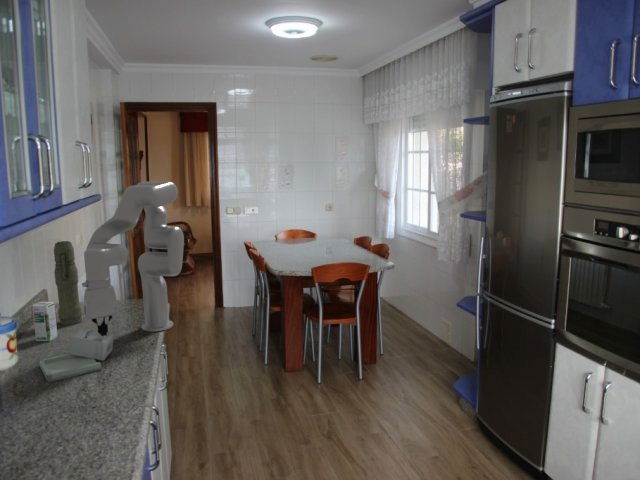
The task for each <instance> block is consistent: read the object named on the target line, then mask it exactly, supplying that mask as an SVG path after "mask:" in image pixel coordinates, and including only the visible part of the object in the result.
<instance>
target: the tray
mask: <svg viewBox="0 0 640 480" xmlns="http://www.w3.org/2000/svg"><path fill="white" fill-rule="evenodd" d="M38 364H39V368H40V370H41V372H42V374H43V376H44V377H45V379H46V381H47V383H49V384H50V383H53V382H58V381H60V380H65V379H69V378H72V377H76V376H77V377H78V376H81V375H85V374H89V373H93V372H96V371H101V370H102V364H101V362H100V361H99V362H97V360H96V359H92V358H87V357H82V356H77V355H72V354H69V353H65V354H61V355H57V356H53V357H47V358H42V359H39V360H38Z"/></svg>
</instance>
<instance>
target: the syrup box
mask: <svg viewBox="0 0 640 480" xmlns="http://www.w3.org/2000/svg"><path fill="white" fill-rule="evenodd" d="M55 307H56V306H55V301H39V302H36V303H34V304H33V305H32V315H33V323H34V332H35V333H34V334H35V342H51V341H53V340H54V339H56V338H57V337H58V327H57V326H58V325H57V317H56V310H55V309H56V308H55Z"/></svg>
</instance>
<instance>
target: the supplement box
mask: <svg viewBox="0 0 640 480" xmlns="http://www.w3.org/2000/svg"><path fill="white" fill-rule="evenodd" d="M113 345H114V333H113V332H109V331H108V332H107V335H106V336H105V335H104V336H101V335H100V334H99V333H98V329H92V328H88V327H84V326H78V327H77V328H76V329H75V330H74V331H73V332H72V333H71V334H70V335H69V338H68V354H72V355H77V356H82V357H87V358H92V359H95V360H96V361H97V360H98V361H105V359H106V358H107V357H108V356H109V355H110V354H111V353H112V351H113Z"/></svg>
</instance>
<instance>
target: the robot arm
mask: <svg viewBox="0 0 640 480" xmlns="http://www.w3.org/2000/svg"><path fill="white" fill-rule="evenodd" d="M178 194H179V190H178V187H177V186H176V184H175V183H174V182H172V181H153V180H152V181H141V182H138V183H137V184H136V185H135V184H134V185H129V186H127V187H126V188H125V190H124V192H123V194H122V196H121V199H120V201H119V202H118V205H117V208H116V210H115V211H114V214H113V216H111V218H109V219H108V220H106V221H105V222H103V224H101V225H100V226H98V228H97V229H95V231H94V232H93V234H91V237H90V239H89V241H88V244H87V246H86V249H85V251H84V252H83V259H84V261H83V262H84V268H85V269H84V270H85V278H86V279H85V282H82V283H81V286H82V288H83V287H85V289H84V296H83V297H84V299H83V300H84V301H83V304H84V305H83V307H84V315H85V316H84V321H85V322H87V323H88V322H89V323H90V322H91V323H92V322H93V324H94V323H95V324H96V326H97V330H98V333H99V334H100V335H101V336H104V335H105V336H106V335H107V332H109V327H108V325H109V322H110V321H111V320H112V319H113V318H116V317H118V316H119V313H118V312H119V307H118V300H117V293H116V291H115V287H114V286H113V285H111V283H112V281H111V275H110V273H111V271H110V267H113V266H120V265H122V264H125V262H126V261H127V260H128V258H129V250H128V248H127V247H126V246H125V245H123V244H120V243H110V242H109V241H110V240H112V239H113V238H114V237H117V236H119V235H120V234H123V233H125V232H128V231H130V230H132V229H134V228H135V227H136V226H137V224H138V222H139V220H140V219H139V218H140V216H141V214H142V211H143V210H144V213H145V218H144V219H145V220H144V221H145V222H144V233H143V234H144V235H143V236H144V237H143V238H144V239H143V241H144V242H143V243H144V245H145V246H146V247H147V248H149V249H157V250H158V249H159V250H167V252H164V251H162V252H161V251H148V252H144V253H142V254H141V255H140V256H139V258H138V260H137V268H138V271H139V274H140V277H141V278H140V279H141V286H142V288H141V289H142V298H143V310H144V311H143V314H144V323H142V324H141V330H142V331H144V332H154V333H155V332H163V331H166V330H169V329H171V328H172V327H174V321H172V320H171V319H170V318H169V317H170V316H169V301H168V286H167V281H166V280H165V278H164V277H176V276H178V275H179V274H180V273H181V271H182V267H183V261H184V259H183V258H184V247H185V245H184V243H185V235H184V232H183V230H182V228H180V227H179V226H176V225H168V212H167V210H166V208H165V206H167V205H170V204H172V203H174V202H175V201H176V199H177V198H178ZM108 242H109V243H108ZM101 318H102V320H101Z"/></svg>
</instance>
